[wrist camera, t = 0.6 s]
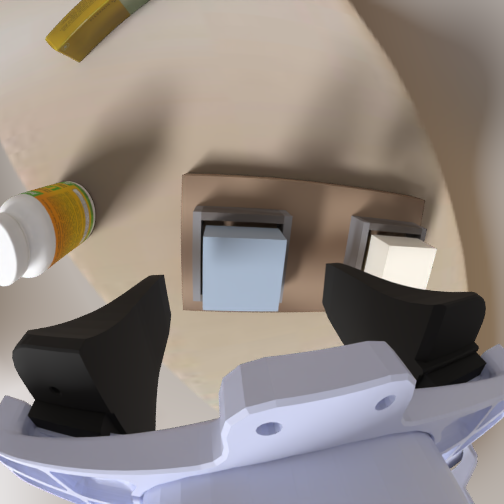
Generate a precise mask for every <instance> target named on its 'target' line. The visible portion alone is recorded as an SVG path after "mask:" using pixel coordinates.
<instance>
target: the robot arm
mask: <svg viewBox="0 0 504 504" xmlns="http://www.w3.org/2000/svg"><path fill="white" fill-rule="evenodd" d="M322 304H323V306H324V309H325V311H326V314H327V316H328V319H329V320H330V322H331V324H332V326H333V327H334V329H335V331H336V332H337V334H338V336H339V337H340V339H341V341H342V342H343V344H344V346H339V347H333V348H328V349H322V350H315V351H309V352H302V353H295V354H288V355H279V356H271V357H264V358H261V359H257V360H254V361H250V362H247V363H243V364H240V365H239V366H237V367H236V368H235V369H234V370H232V371H231V372H230V373H229V374H227V375H226V376H225V377H224V378H223V380H222V383H221V387H220V391H219V409H220V417H219V418H217V419H212V420H208V421H204V422H199V423H195V424H190V425H185V426H180V427H175V428H170V429H163V430H157V431H155V426H156V424H155V422H156V420H155V419H156V398H157V387H158V377H159V372H160V367H161V363H162V359H163V355H164V351H165V347H166V343H167V339H168V335H169V330H170V321H171V311H170V306H169V301H168V296H167V290H166V285H165V279H164V275H151V276H149V277H147V278H145V279H144V280H142V281H141V282H139V283H138V284H137V285H135V286H134V287H132V288H131V289H130V290H128V291H127V292H125V293H124V294H122V295H121V296H119V297H118V298H116V299H115V300H113V301H112V302H110V303H108V304H107V305H105V306H103V307H101V308H99V309H98V310H96V311H93V312H92V313H89V314H87V315H84V316H82V317H79V318H77V319H74V320H71V321H68V322H65V323H62V324H58V325H55V326H50V327H46V328H40V329H34V330H28V331H27V332H26V334H25V335H24V336H23V337H22V339H21V340H20V341H19V343H18V344H17V345H16V347H15V349H14V350H13V357H12V358H13V362H14V366H15V368H16V370H17V372H18V374H19V376H20V378H21V379H22V381H23V382H24V384H25V385H26V387H27V388H28V390H29V392H30V393H31V394H32V396H33V397H34V399H35V401H34V403H33V405H32V406H31V405H29V404H28V403H27V402H25V401H22V400H19V399H16V398H13V397H10V396H4V398H3V400H2V402H1V403H0V462H1V463H2V464H3V465H4V466H6V467H7V468H8V469H9V470H10V471H11V472H13V473H14V474H15V475H16V476H17V477H19V478H20V479H21V480H23V481H24V482H27V483H29V484H31V485H33V486H35V487H37V488H39V489H42V490H44V491H46V492H48V493H50V494H53V495H55V496H58V497H60V498H63V499H65V500H68V501H70V502H72V503H75V504H474V502H473V500H472V498H471V496H470V494H469V493H468V491H467V489H466V486H467V484H468V482H469V480H470V478H471V476H472V473H473V472H474V470H475V468H476V465H477V462H478V461H477V457H478V456H477V453H476V452H475V450H474V448H473V446H472V444H471V443H472V442H474V441H475V440H476V439H478V437H480V436H481V435H482V434H484V433H485V432H486V431H488V430H489V429H490V428H491V427H492V426H494V425H495V424H496V423H497V422H499V421H500V420H501V419H502V418H503V417H504V348H503V347H502V346H501V345H500V344H497V345H495V346H494V347H492V348H490V349H488V350H487V351H485V352H484V353H483V354H482V355H481V357H480V356H479V355H478V354H477V352H476V351H478V349H479V347H478V345H477V344H476V343H475V342H474V341H475V339H476V337H477V334H478V332H479V330H480V327H481V325H482V322H483V319H484V316H485V310H486V307H485V301H484V299H483V298H482V297H481V296H479V295H478V294H477V293H475V292H441V291H431V290H424V289H418V288H413V287H409V286H405V285H401V284H397V283H394V282H391V281H388V280H385V279H382V278H379V277H376V276H374V275H371V274H369V273H366V272H364V271H361V270H359V269H356V268H354V267H351V266H349V265H346V264H342V263H327V264H326V268H325V279H324V289H323V299H322ZM462 450H463V451H462ZM460 461H461V462H460ZM458 462H460V463H459V465H458V466H457V467H455V468H454V469H453V470H452V471H451V470H450V468H452V467H453V466H454V465H456V464H457V463H458Z"/></svg>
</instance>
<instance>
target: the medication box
mask: <svg viewBox="0 0 504 504" xmlns="http://www.w3.org/2000/svg"><path fill="white" fill-rule="evenodd" d="M148 1H150V0H82V1H80V2H79V3H78V4H77V5H76V6H75V7H74V8H73V9H72V10H71V11H70V12H69V13H68V14H67V15H66V16H65V17H64V18H63V19H62V20H61V21H60V22H59V23H58V24H57V25H56V26H55V28H54V29H53V30H52V31H51V32H50V33H49V34H48V35H47V37H46V39H45V40H46V41H47V43H48V44H49V45H50V46H51V47H52V48H53V49H55V50H56V51H58V52H60V53H62V54H64V55H66V56H68V57H70V58H71V59H73V60H75V61H77V62H79V63H80V62H81V61H82V60H83V59H84V58H85V57H86V56H87V55H88V54H89V53H90V52H91V51H92V50H93V49H94V48H95V47H96V46H97V45H98V44H99V43H100V42H101V41H102V40H103V39H104V38H105V37H106V36H107V35H108V34H109V33H110V32H111V31H113V30H114V29H115V28H116V27H117V26H118V25H119V24H120V23H122V22H123V21H124V20H125V19H126V18H128V17H129V16H130V15H131V14H133V13H134V12H135V11H136V10H138V9H139V8H140V7H142V6H143V5H144V4H145V3H147V2H148Z"/></svg>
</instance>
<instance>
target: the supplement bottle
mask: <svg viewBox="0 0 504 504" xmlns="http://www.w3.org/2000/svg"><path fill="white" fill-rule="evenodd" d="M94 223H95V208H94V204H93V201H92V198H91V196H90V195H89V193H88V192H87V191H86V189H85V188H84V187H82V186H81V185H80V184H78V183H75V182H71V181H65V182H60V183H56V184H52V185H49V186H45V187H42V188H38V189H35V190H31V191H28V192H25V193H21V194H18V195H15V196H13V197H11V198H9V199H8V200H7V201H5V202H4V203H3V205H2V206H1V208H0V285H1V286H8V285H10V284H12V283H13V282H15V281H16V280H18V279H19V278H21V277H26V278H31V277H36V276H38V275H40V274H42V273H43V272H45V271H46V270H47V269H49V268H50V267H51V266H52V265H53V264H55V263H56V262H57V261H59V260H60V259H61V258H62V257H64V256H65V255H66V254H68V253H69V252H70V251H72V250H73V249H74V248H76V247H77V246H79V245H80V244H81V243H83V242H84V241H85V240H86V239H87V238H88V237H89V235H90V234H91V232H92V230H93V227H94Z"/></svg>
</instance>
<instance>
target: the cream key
mask: <svg viewBox="0 0 504 504" xmlns="http://www.w3.org/2000/svg"><path fill="white" fill-rule="evenodd" d="M436 250H437V249H436V248H435V247H433V246H431V245H429V244H427V243H426V242H424V241H422V240H420V239H418V238H408V237H397V236H384V235H371V240H370V246H369V251H368V255H367V260H366V265H365V269H364V272H366V273H369V274H371V275H374V276H376V277H379V278H382V279H385V280H388V281H391V282H394V283H397V284H401V285H405V286H409V287H413V288H418V289H424V290H425V289H426V286H427V283H428V280H429V276H430V273H431V269H432V266H433V262H434V258H435V254H436Z"/></svg>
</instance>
